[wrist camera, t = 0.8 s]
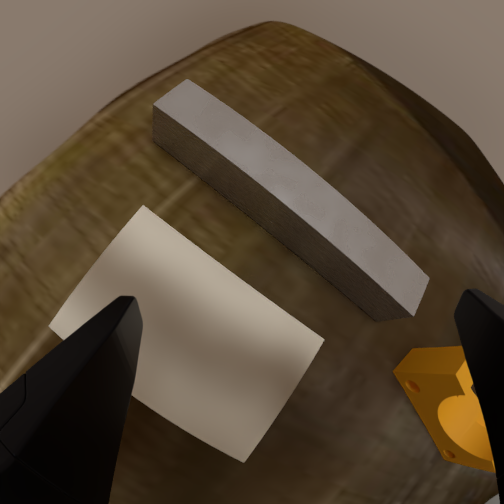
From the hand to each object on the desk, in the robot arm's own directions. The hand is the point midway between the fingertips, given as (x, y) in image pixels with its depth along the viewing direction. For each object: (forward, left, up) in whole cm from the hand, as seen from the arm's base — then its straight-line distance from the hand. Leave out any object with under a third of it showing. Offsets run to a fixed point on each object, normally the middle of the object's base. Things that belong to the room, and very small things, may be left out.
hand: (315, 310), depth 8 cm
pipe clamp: (+4, -18, -12) cm, 22 cm away
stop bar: (+8, +2, -12) cm, 14 cm away
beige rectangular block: (-2, +2, -12) cm, 12 cm away
